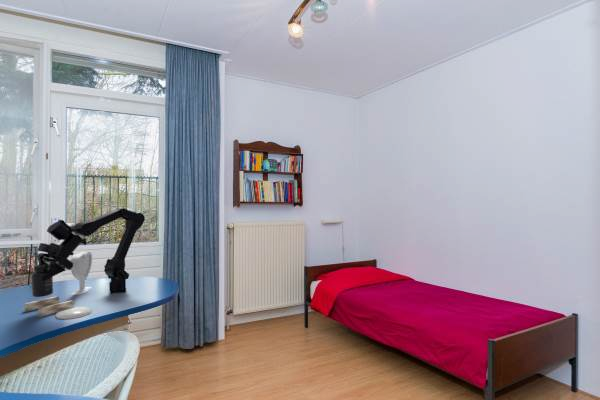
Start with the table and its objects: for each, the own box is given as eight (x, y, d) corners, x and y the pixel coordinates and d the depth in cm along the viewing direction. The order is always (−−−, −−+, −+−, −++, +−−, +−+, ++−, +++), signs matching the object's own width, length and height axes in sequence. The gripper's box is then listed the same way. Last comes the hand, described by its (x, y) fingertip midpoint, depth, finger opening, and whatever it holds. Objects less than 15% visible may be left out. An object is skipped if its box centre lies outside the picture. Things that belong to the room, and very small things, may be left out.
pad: (93, 306, 147) (93, 305, 147) (90, 316, 136) (90, 314, 136) (59, 310, 142) (59, 309, 142) (52, 320, 131) (52, 319, 131)
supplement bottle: (51, 291, 146) (50, 262, 145) (54, 294, 141) (54, 265, 141) (30, 294, 141) (29, 264, 141) (33, 298, 136) (32, 267, 136)
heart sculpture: (81, 294, 163) (80, 256, 163) (69, 295, 162) (68, 256, 162) (94, 285, 178) (93, 250, 178) (83, 286, 178) (82, 250, 177)
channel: (57, 302, 152) (57, 295, 152) (73, 307, 145) (73, 300, 145) (24, 311, 141) (24, 303, 141) (39, 316, 135) (39, 309, 135)
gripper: (40, 233, 148) (9, 264, 139) (64, 236, 139) (32, 270, 130) (61, 249, 155) (33, 280, 146) (85, 253, 146) (56, 286, 137)
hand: (38, 279), depth 140 cm, fingers closed on supplement bottle, 7 cm apart
